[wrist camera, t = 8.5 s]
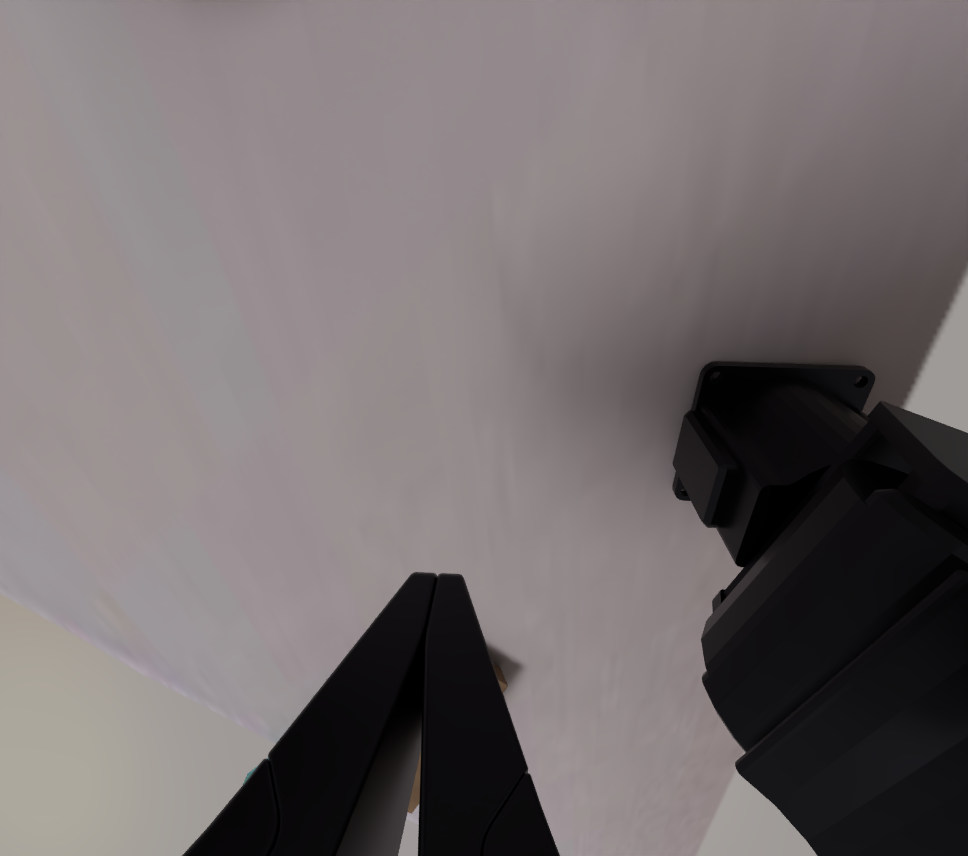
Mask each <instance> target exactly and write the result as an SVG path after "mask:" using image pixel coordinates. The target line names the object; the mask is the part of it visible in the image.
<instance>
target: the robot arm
mask: <svg viewBox="0 0 968 856" xmlns="http://www.w3.org/2000/svg"><path fill="white" fill-rule="evenodd" d="M714 372H720V374H719V376H718V377H717V378H715V379H712V380H711V379H710V376H711V374H713V373H714ZM861 376H862V378H861V380H860V381H859V382H857V383H855V384H854V381H855V380H856V379H857V378H858V377H861ZM874 381H875V376H874V374H873V373H872V372H871V371H870V370H868V369H867V368H865V367H862V366H840V365H807V364H773V363H739V362H711V363H709V364H707V365H705V366H704V367H703V368H702V370H701V372H700V376H699V380H698V384H697V388H696V392H695V396H694V400H693V404H692V408H691V410H690V411H689V412H688V413H686V414H685V415H684V418H683V422H682V427H681V431H680V435H679V439H678V443H677V447H676V452H675V456H674V460H673V466H674V468H675V470H676V473H675V478H674V482H673V486H672V489H673V491H674V493H675V495H676V497H677V498H678V499H680V500H684V501H691V502H692V504H693V506H694V507H695V509H696V511H697V513H698V515H699V517H700V519H701V521H702V522H703V523H704V524H705V525H706V527H707V528H717V530H718V532H719V534H720V536H721V538H722V540H723V541H724V543H725V545H726V547H727V549H728V551H729V553H730V554H731V556H732V558H733V560H734V562H735V564H736V565H737V566H740V567H744V568H743V570H742V571H741V572H740V573H739V574H738V575H737V577H736V578H735V579H734V580H733V581H732V583H731V584H730V585H729V586H728V587H727V588H726V590H723V589H722V590H721V591H720V592H719V593H718V594H717V595H716V596H715V598H714V599H713V601H712V606H713V614H712V615H711V616H710V617H709V618H708V619H707V621H706V624H705V627H704V631H703V634H702V638H701V642H702V648H703V654H704V661H705V666H706V669H707V671H706V672H705V673H704V674H703V676H702V682H703V685H704V687H705V689H706V691H707V693H708V696H709V698H710V700H711V702H712V704H713V706H714V708H715V710H716V712H717V714H718V715H719V717H720V718H721V720H722V721H723V723H724V724H725V726H726V727H727V729H728V730H729V732H730V733H731V735H732V736H733V738H734V739H735V740H736V742H737V743H738V744H739V745H740V746H741V747H742V749H743V750H744V751H745V752H746V753H745V754H744V755H743V756H742V757H740V758H739V759H738V760H737V761H736V762H735V766H736V769H737V771H738V772H739V774H740V775H741V776H742V777H743V778H744V779H746V780H747V781H748V782H749V783H750V784H752V786H754V787H755V788H756V789H757V790H758V791H759V792H760V793H762V794H763V795H764V796H765V797H766V798H767V799H769V800H770V801H771V802H772V803H773V804H774V805H775V806H776V807H777V808H778V809H779V810H780V811H781V812H782V814H783V815H784V816H785V817H786V818H787V819H788V820H789V821H790V823H791V824H792V825H793V826H794V827H795V828H796V829H797V830H798V831H799V833H800V834H801V835H802V836H803V837H804V838H805V839H806V841H807V842H808V843H809V845H810V846H811V847H812V849H813V850H814V851H815V853H816V854H817V855H818V856H968V433H966V432H963V431H961V430H958V429H955V428H953V427H950V426H947V425H945V424H942V423H939V422H936V421H934V420H931V419H929V418H926V417H923V416H920V415H918V414H915V413H912V412H910V411H907V410H904V409H902V408H899V407H896V406H894V405H891V404H888V403H886V402H883V401H880V402H879V403H878V404H877V406H876V407H875V408H874V409H873V410H872V411H871V413H870V414H869V415H868V416H867V415H865V414H864V413H863V412H862V410H863V407H864V405H865V403H866V400H867V398H868V396H869V393H870V391H871V389H872V387H873V384H874ZM683 488H685V490H684V491H681V490H682V489H683ZM420 752H421V767H420V801H419V837H418V856H560V855H559V852H558V850H557V847H556V845H555V842H554V839H553V837H552V834H551V831H550V828H549V826H548V823H547V820H546V818H545V815H544V812H543V810H542V807H541V804H540V801H539V798H538V795H537V792H536V789H535V787H534V784H533V781H532V778H531V775H530V774H529V773H528V767H527V764H526V761H525V758H524V755H523V752H522V749H521V746H520V743H519V740H518V737H517V734H516V731H515V728H514V725H513V722H512V719H511V716H510V713H509V711H508V708H507V705H506V702H505V699H504V696H503V693H502V690H501V687H500V684H499V681H498V678H497V675H496V672H495V669H494V666H493V663H492V660H491V657H490V654H489V651H488V648H487V645H486V642H485V639H484V637H483V634H482V631H481V628H480V625H479V622H478V619H477V616H476V613H475V610H474V607H473V604H472V601H471V598H470V595H469V592H468V589H467V586H466V583H465V580H464V578H463V576H462V575H461V574H447V573H441V574H439V575H438V577H437V575H436V574H435V573H424V572H415V573H413V574H411V575H410V576H409V578H408V579H407V580H406V581H405V583H404V584H403V585H402V586H401V588H400V589H399V590H398V591H397V593H396V594H395V595H394V596H393V598H392V599H391V600H390V601H389V603H388V604H387V605H386V607H385V608H384V609H383V610H382V612H381V613H380V614H379V615H378V617H377V618H376V619H375V620H374V622H373V623H372V624H371V625H370V627H369V628H368V629H367V630H366V632H365V633H364V634H363V635H362V637H361V638H360V639H359V640H358V642H357V643H356V644H355V645H354V647H353V648H352V649H351V650H350V652H349V653H348V654H347V655H346V657H345V658H344V659H343V661H342V662H341V663H340V664H339V666H338V667H337V668H336V669H335V671H334V672H333V673H332V674H331V676H330V677H329V678H328V679H327V681H326V682H325V683H324V684H323V686H322V687H321V688H320V689H319V691H318V692H317V693H316V694H315V696H314V697H313V698H312V699H311V701H310V702H309V703H308V704H307V706H306V707H305V708H304V709H303V711H302V712H301V713H300V715H299V716H298V717H297V718H296V720H295V721H294V722H293V723H292V725H291V726H290V727H289V728H288V730H287V731H286V732H285V733H284V735H283V736H282V737H281V738H280V740H279V741H278V742H277V743H276V745H275V746H274V747H273V749H272V750H271V751H270V752H269V754H268V758H269V760H268V759H264V760H263V761H262V762H261V763H260V764H259V766H258V767H257V768H256V769H255V771H254V772H253V773H252V774H251V776H250V777H249V778H248V779H247V781H246V782H245V783H244V785H243V786H242V787H241V788H240V789H239V791H238V792H237V793H236V794H235V796H234V797H233V798H232V799H231V800H230V801H229V803H228V804H227V805H226V806H225V807H224V809H223V810H222V811H221V812H220V813H219V815H218V816H217V817H216V818H215V819H214V821H213V822H212V823H211V824H210V826H209V827H208V828H207V829H206V830H205V831H204V832H203V833H202V834H201V836H200V837H199V838H198V839H197V840H196V841H195V842H194V843H193V844H192V845H191V847H190V848H189V849H188V850H187V851H186V852H185V853H184V854H183V855H182V856H398V853H399V848H400V843H401V839H402V834H403V830H404V825H405V821H406V816H407V811H408V807H409V802H410V798H411V793H412V789H413V784H414V779H415V775H416V770H417V766H418V761H419V757H420Z"/></svg>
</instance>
